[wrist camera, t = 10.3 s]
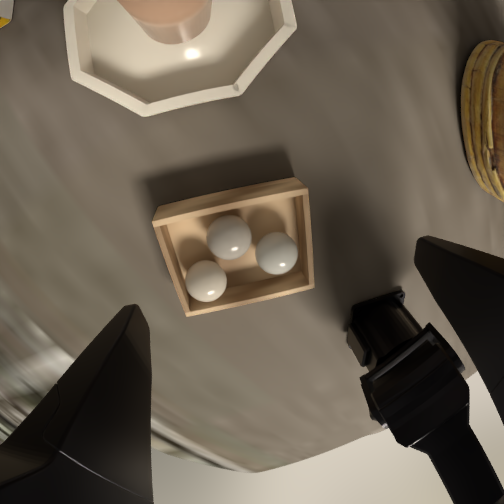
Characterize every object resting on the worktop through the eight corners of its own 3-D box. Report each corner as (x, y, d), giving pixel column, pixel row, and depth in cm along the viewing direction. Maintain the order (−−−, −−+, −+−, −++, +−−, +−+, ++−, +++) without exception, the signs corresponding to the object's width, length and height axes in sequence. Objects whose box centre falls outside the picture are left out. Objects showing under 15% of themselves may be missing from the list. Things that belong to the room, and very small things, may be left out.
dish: (260, -61, 10) (269, -80, 8) (292, 89, 17) (307, 87, 14) (78, -21, 10) (62, -34, 7) (100, 132, 16) (83, 138, 14)
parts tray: (294, 176, 20) (307, 188, 18) (303, 268, 24) (314, 287, 22) (157, 206, 20) (151, 221, 17) (187, 294, 24) (186, 316, 21)
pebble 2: (244, 204, 20) (251, 221, 17) (251, 241, 21) (258, 263, 19) (201, 213, 20) (201, 231, 17) (211, 250, 21) (212, 273, 19)
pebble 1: (220, 248, 21) (223, 270, 19) (228, 281, 23) (232, 305, 20) (181, 257, 21) (178, 280, 18) (191, 289, 22) (191, 314, 20)
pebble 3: (289, 221, 21) (301, 239, 18) (292, 255, 22) (304, 277, 20) (248, 229, 21) (255, 249, 18) (255, 264, 22) (262, 287, 20)
